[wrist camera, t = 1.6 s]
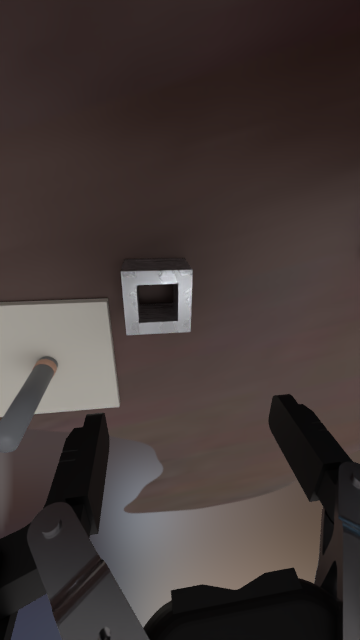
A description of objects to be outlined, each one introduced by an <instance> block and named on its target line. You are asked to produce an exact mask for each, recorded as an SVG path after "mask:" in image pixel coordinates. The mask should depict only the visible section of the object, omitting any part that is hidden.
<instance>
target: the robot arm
mask: <svg viewBox="0 0 360 640" xmlns="http://www.w3.org/2000/svg"><path fill="white" fill-rule="evenodd" d="M269 427H270V430H271V432H272V434H273V436H274V438H275V439H276V441H277V443H278V445H279V447H280V449H281V450H282V452H283V454H284V456H285V458H286V460H287V461H288V463H289V465H290V467H291V469H292V470H293V472H294V474H295V476H296V478H297V480H298V481H299V483H300V485H301V487H302V488H303V491H304V492H305V494H306V496H307V498H308V500H309V501H310V502H312V501H318V500H320V502H321V503H322V505H323V509H322V519H321V535H320V551H319V561H318V567H317V571H316V576H315V582H314V584H313V583H311V582H309V581H306V580H303V579H299V578H298V576H297V574H296V572H295V569H294V568H289V569H283V570H278V571H273V572H268V573H264V574H263V575H261V576H259V577H258V578H256V579H255V580H253V581H251V582H250V583H248V584H247V585H245V586H243V587H242V588H240V589H238V590H231V589H225V588H220V587H213V586H208V585H197V586H192V587H187V588H181V589H176V590H172V591H171V595H172V596H171V597H172V600H171V601H170V602H168V603H167V604H165V605H164V606H162V607H161V608H160V609H159V610H158V611H157V612H156V613H155V614H154V615H153V616H152V617H151V618H150V620H149V621H148V622H147V624H146V625H145V626H144V628H143V627H142V625H141V624H140V622H139V620H138V619H137V617H136V615H135V613H134V612H133V610H132V608H131V606H130V604H129V603H128V601H127V599H126V597H125V596H124V594H123V592H122V590H121V589H120V587H119V585H118V583H117V582H116V580H115V578H114V576H113V575H112V573H111V571H110V569H109V568H108V566H107V564H106V563H105V562H104V560H102V559H101V558H100V556H99V555H98V553H97V551H96V550H95V548H94V546H93V544H92V542H91V541H90V539H89V537H90V535H92V534H98V531H99V523H100V515H101V507H102V500H103V492H104V485H105V477H106V470H107V462H108V454H109V434H108V428H107V423H106V417H105V413H95V414H87V415H86V418H85V422H84V426H83V427H81V428H74V429H73V430H72V432H71V433H70V434H69V436H68V437H67V438H66V441H65V444H64V447H63V452H62V454H61V457H60V460H59V464H58V466H57V470H56V473H55V476H54V479H53V482H52V486H51V489H50V492H49V495H48V498H47V501H46V504H45V506H44V508H43V509H42V510H41V511H40V512H39V513H38V514H37V515H36V516H35V518H34V519H33V521H32V522H31V523H30V524H28V525H27V526H25V527H24V528H22V529H20V530H18V531H16V532H14V533H12V534H10V535H8V536H6V537H4V538H1V539H0V640H11V636H12V632H13V628H14V624H15V621H16V617H17V613H18V610H19V609H21V608H23V607H24V606H26V605H28V604H29V603H31V602H33V601H35V600H36V599H38V598H40V597H41V596H43V595H45V594H46V593H47V595H48V598H49V601H50V603H51V606H52V612H53V615H54V618H55V621H56V624H57V626H58V629H59V632H60V635H61V637H62V640H360V464H358V463H355V462H353V461H352V460H351V459H350V458H349V456H348V455H347V454H346V452H345V451H344V450H343V449H342V447H341V446H340V445H339V444H338V442H337V441H336V440H335V439H334V437H333V436H332V435H331V434H330V432H329V431H327V429H326V427H325V426H324V425H323V423H321V422H320V420H319V418H318V417H317V416H316V415H315V413H314V412H313V411H312V410H310V409H309V408H307V407H306V406H305V405H303V404H298V403H297V402H296V400H295V399H294V398H293V396H292V395H290V394H285V395H276V396H273V399H272V403H271V409H270V414H269Z"/></svg>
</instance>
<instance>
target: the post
mask: <svg viewBox="0 0 360 640" xmlns="http://www.w3.org/2000/svg"><path fill="white" fill-rule="evenodd" d="M119 406H120V396H119V388H118V379H117V371H116V363H115V354H114V346H113V337H112V329H111V321H110V312H109V304H108V298H103V299H74V300H46V301H17V302H0V417H3V418H2V419H1V421H0V452H4V453H5V452H12V451H14V450H15V449H17V447H18V445H19V443H20V441H21V439H22V437H23V435H24V433H25V431H26V429H27V427H28V425H29V423H30V421H31V419H32V417H33V415H34V414H41V413H53V412H64V411H76V410H88V409H99V408H111V407H119Z"/></svg>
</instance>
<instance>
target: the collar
mask: <svg viewBox="0 0 360 640" xmlns="http://www.w3.org/2000/svg"><path fill="white" fill-rule="evenodd" d="M192 271H193V270H192V268H191V267H190V265H189V264H188V262H187V261H186V259H185V258H171V259H124V262H123V265H122V269H121V281H122V291H123V302H124V313H125V324H126V335H140V334H159V333H178V332H191V301H192ZM156 284H173V303H159V304H139V289H138V285H156Z"/></svg>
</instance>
